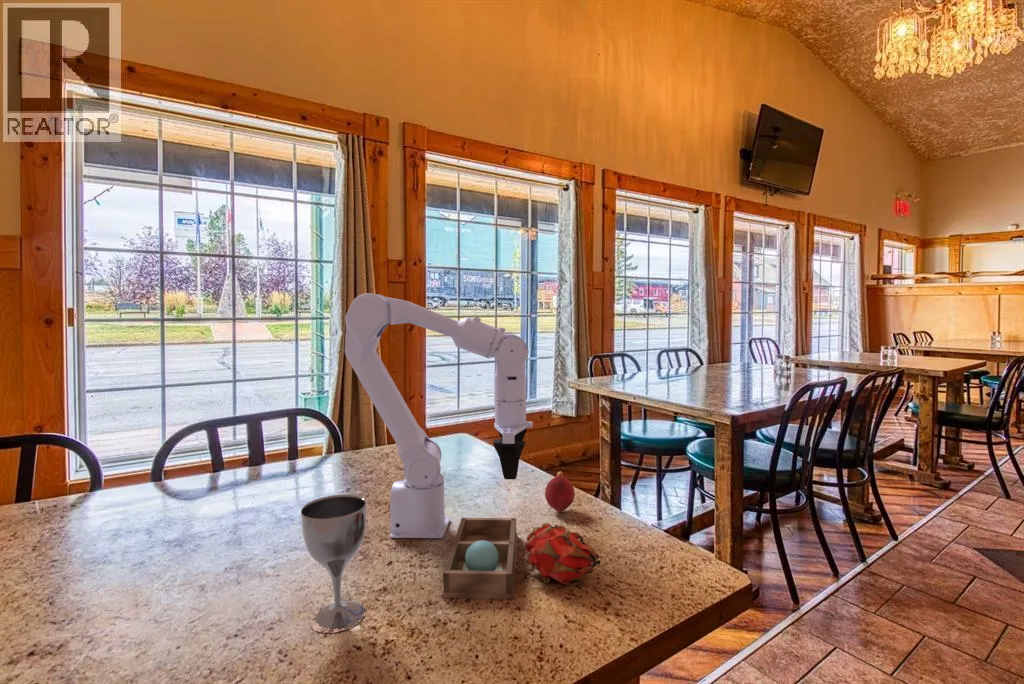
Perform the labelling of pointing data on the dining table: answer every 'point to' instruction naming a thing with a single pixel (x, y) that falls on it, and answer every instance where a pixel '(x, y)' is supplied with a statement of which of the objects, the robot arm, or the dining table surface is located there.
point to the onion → (559, 493)
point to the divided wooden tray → (482, 582)
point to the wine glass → (335, 549)
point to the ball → (481, 556)
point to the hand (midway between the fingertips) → (511, 471)
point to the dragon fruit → (559, 554)
